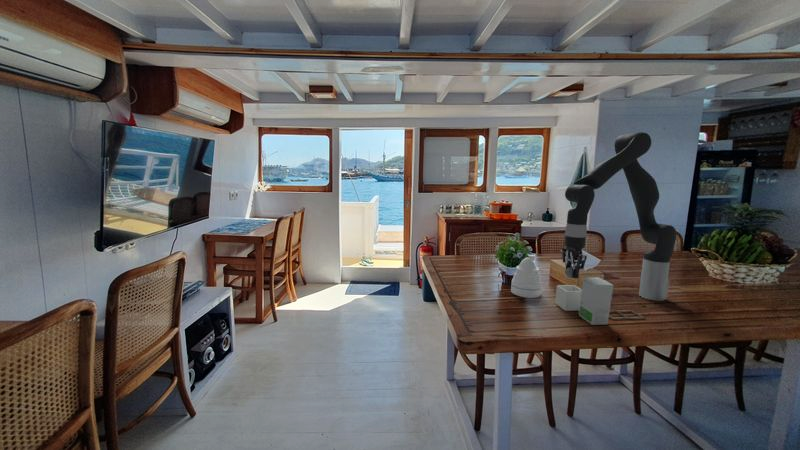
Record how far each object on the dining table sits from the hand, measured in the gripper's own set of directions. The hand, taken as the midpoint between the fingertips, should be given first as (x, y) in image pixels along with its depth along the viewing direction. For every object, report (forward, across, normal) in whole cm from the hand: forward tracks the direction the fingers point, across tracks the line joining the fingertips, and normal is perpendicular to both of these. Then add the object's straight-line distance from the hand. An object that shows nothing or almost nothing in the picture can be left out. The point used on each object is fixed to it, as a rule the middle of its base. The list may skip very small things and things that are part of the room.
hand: (571, 275), depth 132 cm
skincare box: (+13, -13, -2) cm, 19 cm away
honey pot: (+14, +17, +11) cm, 24 cm away
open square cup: (+13, 0, 0) cm, 13 cm away
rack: (+13, -9, -16) cm, 23 cm away
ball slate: (+1, 0, 0) cm, 1 cm away
